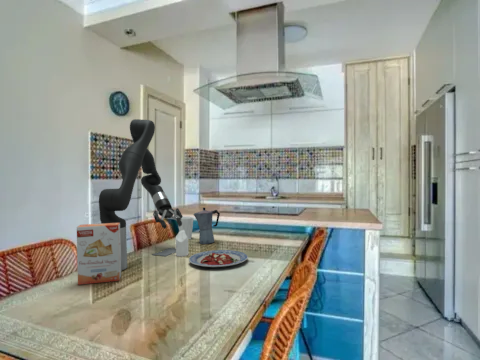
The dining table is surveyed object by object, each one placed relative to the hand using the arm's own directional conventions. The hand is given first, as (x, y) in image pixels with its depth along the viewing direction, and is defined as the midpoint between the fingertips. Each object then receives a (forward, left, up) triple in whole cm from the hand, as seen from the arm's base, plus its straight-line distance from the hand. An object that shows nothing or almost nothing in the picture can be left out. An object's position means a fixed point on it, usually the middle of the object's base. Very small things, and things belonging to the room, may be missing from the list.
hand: (173, 226), depth 152 cm
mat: (-1, +3, -13) cm, 13 cm away
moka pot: (+25, -5, -13) cm, 28 cm away
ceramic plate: (-8, -29, -13) cm, 33 cm away
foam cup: (+29, +12, -13) cm, 34 cm away
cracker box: (-44, +1, -13) cm, 46 cm away
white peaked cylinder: (-3, -7, -13) cm, 15 cm away
